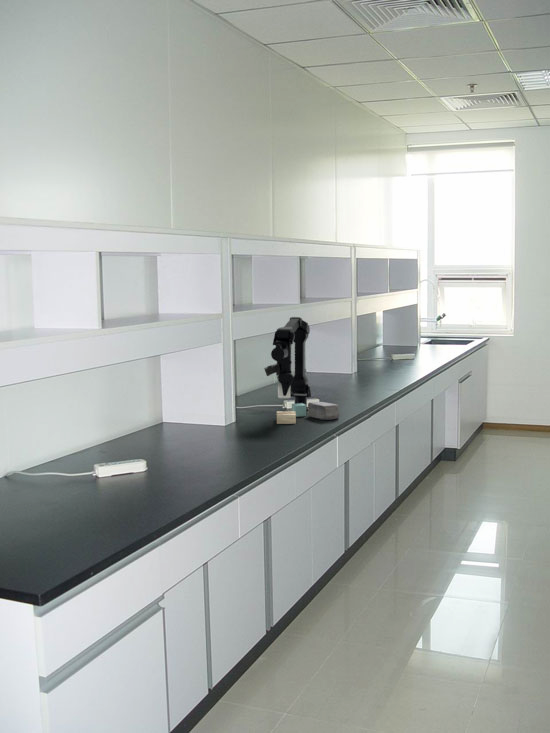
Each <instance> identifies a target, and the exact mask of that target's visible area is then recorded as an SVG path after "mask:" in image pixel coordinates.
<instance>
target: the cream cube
mask: <svg viewBox="0 0 550 733" xmlns="http://www.w3.org/2000/svg"><path fill="white" fill-rule="evenodd" d="M277 398H279V399H291V395H290V387H289V389H288V392H287V394H286V396H283V391H282V385H281V384H277Z"/></svg>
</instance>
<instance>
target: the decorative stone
mask: <svg viewBox="0 0 550 733" xmlns="http://www.w3.org/2000/svg"><path fill="white" fill-rule="evenodd" d="M307 408H308V415H309V417H310V418H313V419H316V420H321V421H334V420H338V419H340V416H341V415H340V414H341V413H340V411H339V409H340V408H339V405H338V404H336V403H330V402H325V401H324V402H323V401H315V400H314V401H313V400H312V401H308V402H307Z"/></svg>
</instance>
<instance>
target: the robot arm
mask: <svg viewBox="0 0 550 733" xmlns="http://www.w3.org/2000/svg"><path fill="white" fill-rule="evenodd" d="M310 329H311V328H310V325H309V323H308V322H306V321H305V320H303V318H302V317H300V316H299V317H298V316H291V317H290V318H289V320H288V321H287V323H286V324H285V325H284V326H282V327H279V328H277V329H276V331H275V332H274V336H273V340H272V346H275V347H274V348H273V349H272V350H271V352H270V355H271V358H272V359H273V361H275V362H276V363H274V364H270V365H267V366H265V367H264V368H263V369H264V371H265V372H264V373H265V374H266V376H267V377H269V376H271V375H272V374H275V375H276V378H277V382H278V383H279V384H280V385H282V391H283V396H286V394H287V392H288V389H289V387H290V398H291V397H294V402H293V404H297V403H303V404H305V405H306V411H309V409H308V402H307V401H308V398H311V397H312V391H311V387H310V384H309V379H308V377H307V376H306V374H305V373H306V371H305V370H306V369H305V368H306V365H305V362H306V347H305V346H306V345H305V344H306V342H307V340H308V338H309V334H310V332H311V330H310ZM293 344H294V375H293V374H292V345H293Z"/></svg>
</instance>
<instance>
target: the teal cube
mask: <svg viewBox="0 0 550 733" xmlns="http://www.w3.org/2000/svg"><path fill="white" fill-rule="evenodd" d="M291 411H295V413H296V418H298V417H306V416H307V410H306V405H305V404H303V403H297V404H294V403H291Z"/></svg>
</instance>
